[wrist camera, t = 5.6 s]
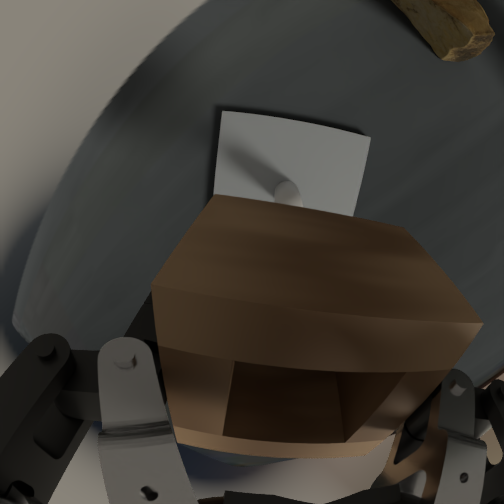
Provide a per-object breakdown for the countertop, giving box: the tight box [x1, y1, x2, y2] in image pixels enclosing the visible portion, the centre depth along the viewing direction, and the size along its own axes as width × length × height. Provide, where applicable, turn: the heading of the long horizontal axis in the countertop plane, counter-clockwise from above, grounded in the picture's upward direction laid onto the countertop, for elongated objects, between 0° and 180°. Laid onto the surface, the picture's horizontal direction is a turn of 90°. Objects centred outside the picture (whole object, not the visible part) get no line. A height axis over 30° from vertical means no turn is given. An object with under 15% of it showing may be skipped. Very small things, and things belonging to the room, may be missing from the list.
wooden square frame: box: [151, 194, 483, 458], centre depth 8 cm, size 6×6×5 cm
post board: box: [213, 111, 371, 217], centre depth 20 cm, size 12×12×7 cm
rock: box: [391, 0, 495, 62], centre depth 11 cm, size 11×9×10 cm
